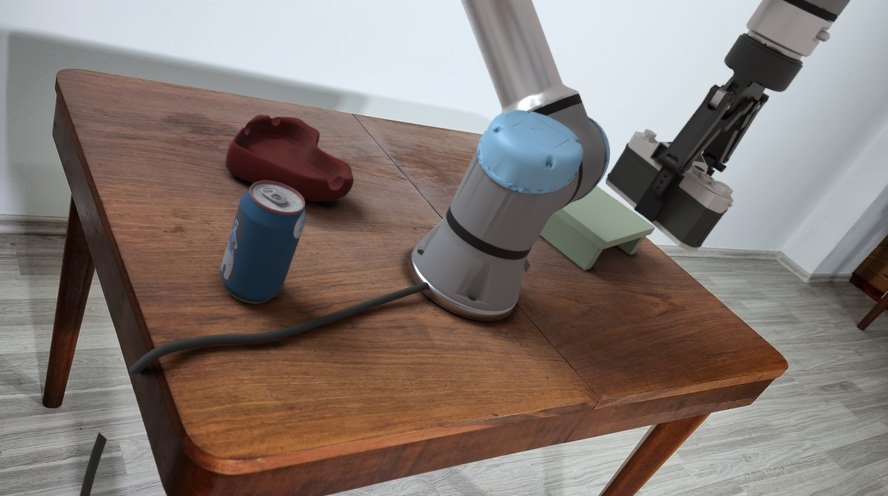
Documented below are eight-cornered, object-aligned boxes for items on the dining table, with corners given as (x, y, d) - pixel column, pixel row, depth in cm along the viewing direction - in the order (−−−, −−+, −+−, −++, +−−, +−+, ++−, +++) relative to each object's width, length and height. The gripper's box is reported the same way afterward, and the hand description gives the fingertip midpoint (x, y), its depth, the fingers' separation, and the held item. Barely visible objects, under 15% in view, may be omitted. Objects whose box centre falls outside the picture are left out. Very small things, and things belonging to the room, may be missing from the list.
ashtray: (198, 139, 100) (205, 107, 97) (297, 145, 110) (307, 116, 107) (249, 213, 90) (259, 179, 87) (353, 211, 100) (365, 181, 97)
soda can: (291, 293, 80) (324, 205, 73) (251, 316, 74) (282, 222, 68) (246, 260, 82) (273, 171, 75) (203, 280, 76) (229, 185, 70)
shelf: (586, 272, 111) (606, 242, 108) (522, 221, 118) (539, 191, 115) (636, 255, 124) (655, 227, 121) (575, 209, 131) (592, 182, 127)
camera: (722, 253, 88) (774, 186, 83) (683, 253, 83) (736, 182, 78) (635, 182, 98) (677, 117, 93) (596, 178, 93) (637, 110, 88)
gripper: (775, 56, 69) (647, 240, 81) (829, 65, 85) (716, 218, 97) (709, 21, 72) (597, 202, 84) (774, 36, 88) (671, 187, 100)
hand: (660, 211), depth 91 cm, fingers closed on camera, 9 cm apart
